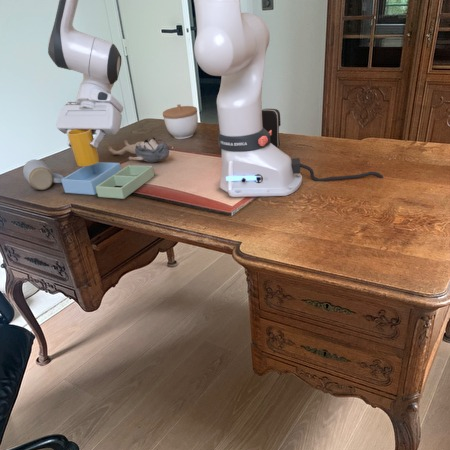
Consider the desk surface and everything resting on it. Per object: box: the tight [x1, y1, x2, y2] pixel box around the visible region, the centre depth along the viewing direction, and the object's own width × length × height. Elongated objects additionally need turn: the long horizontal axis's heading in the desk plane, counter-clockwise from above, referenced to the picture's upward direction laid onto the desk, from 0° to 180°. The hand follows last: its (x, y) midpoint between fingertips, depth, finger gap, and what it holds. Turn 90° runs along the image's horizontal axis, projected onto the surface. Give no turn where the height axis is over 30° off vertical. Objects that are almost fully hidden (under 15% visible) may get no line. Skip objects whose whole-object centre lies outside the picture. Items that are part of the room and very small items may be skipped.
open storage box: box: [61, 161, 122, 196], centre depth 132 cm, size 11×15×4 cm
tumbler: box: [66, 129, 100, 167], centre depth 127 cm, size 7×7×9 cm
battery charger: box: [262, 108, 282, 148], centre depth 142 cm, size 7×4×11 cm, turn 58°
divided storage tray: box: [96, 164, 156, 200], centre depth 128 cm, size 9×17×3 cm, turn 157°
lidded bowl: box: [162, 103, 199, 140], centre depth 162 cm, size 13×13×11 cm
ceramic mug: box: [22, 158, 65, 191], centre depth 134 cm, size 11×8×8 cm
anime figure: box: [107, 137, 170, 164], centre depth 146 cm, size 10×7×30 cm
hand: (82, 146), depth 126 cm, fingers closed on tumbler, 6 cm apart
